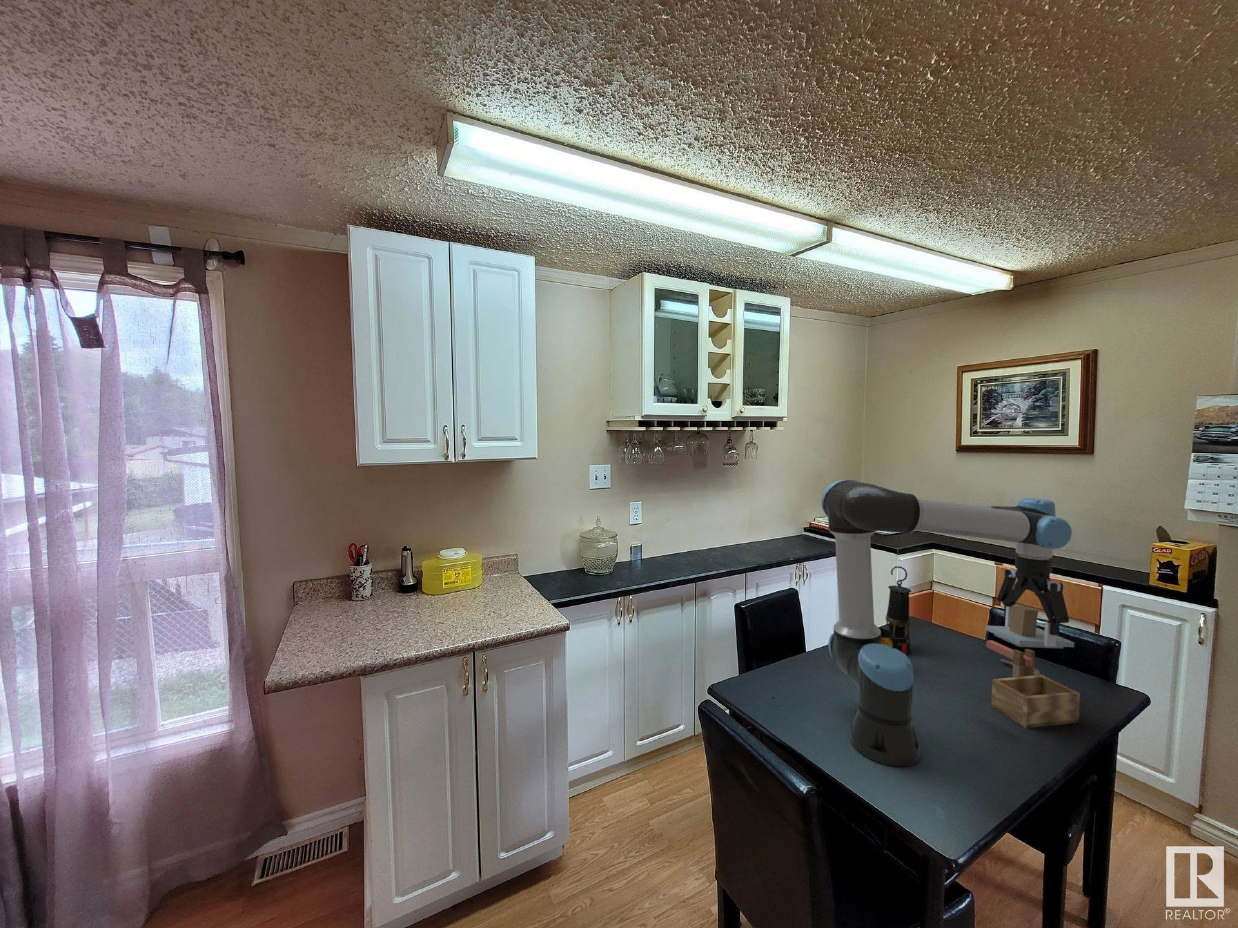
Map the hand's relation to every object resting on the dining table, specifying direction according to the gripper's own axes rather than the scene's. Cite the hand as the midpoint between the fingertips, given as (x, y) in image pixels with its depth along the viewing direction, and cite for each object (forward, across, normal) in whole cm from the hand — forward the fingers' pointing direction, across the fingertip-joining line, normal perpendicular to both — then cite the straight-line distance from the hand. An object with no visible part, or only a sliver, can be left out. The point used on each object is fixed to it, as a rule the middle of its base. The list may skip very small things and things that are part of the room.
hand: (1029, 637), depth 130 cm
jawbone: (+22, +18, -18) cm, 34 cm away
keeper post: (+22, +9, -9) cm, 25 cm away
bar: (+12, +14, -9) cm, 20 cm away
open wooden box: (+22, 0, -3) cm, 22 cm away
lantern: (+22, +42, +6) cm, 48 cm away
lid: (0, 0, 0) cm, 0 cm away
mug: (+22, +32, +20) cm, 44 cm away
